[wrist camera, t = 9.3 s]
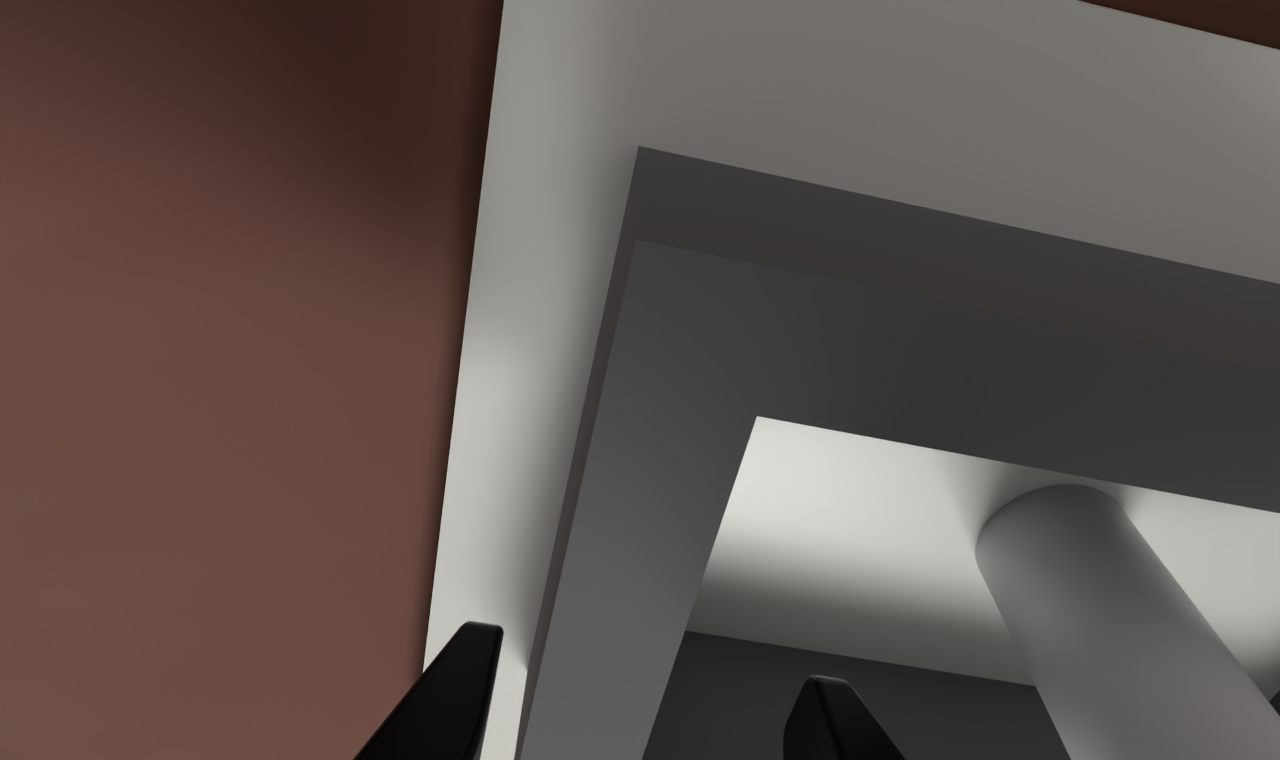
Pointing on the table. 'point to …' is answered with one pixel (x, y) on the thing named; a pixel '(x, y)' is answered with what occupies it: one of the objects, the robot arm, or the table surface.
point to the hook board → (858, 465)
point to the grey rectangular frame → (862, 405)
